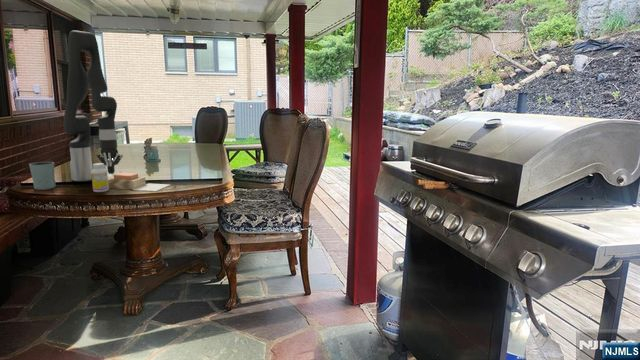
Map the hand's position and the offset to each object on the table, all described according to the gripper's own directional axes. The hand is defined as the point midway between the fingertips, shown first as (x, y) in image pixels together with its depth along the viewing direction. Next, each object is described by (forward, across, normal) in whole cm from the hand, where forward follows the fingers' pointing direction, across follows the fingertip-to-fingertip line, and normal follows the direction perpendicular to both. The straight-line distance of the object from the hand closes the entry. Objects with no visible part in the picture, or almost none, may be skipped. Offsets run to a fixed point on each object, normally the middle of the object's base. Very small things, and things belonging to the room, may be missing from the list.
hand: (111, 173), depth 208 cm
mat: (+6, +21, 0) cm, 22 cm away
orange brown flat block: (+2, +8, 0) cm, 8 cm away
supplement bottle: (+6, +2, -11) cm, 13 cm away
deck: (+6, +5, 0) cm, 8 cm away
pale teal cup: (+6, -28, -11) cm, 31 cm away
